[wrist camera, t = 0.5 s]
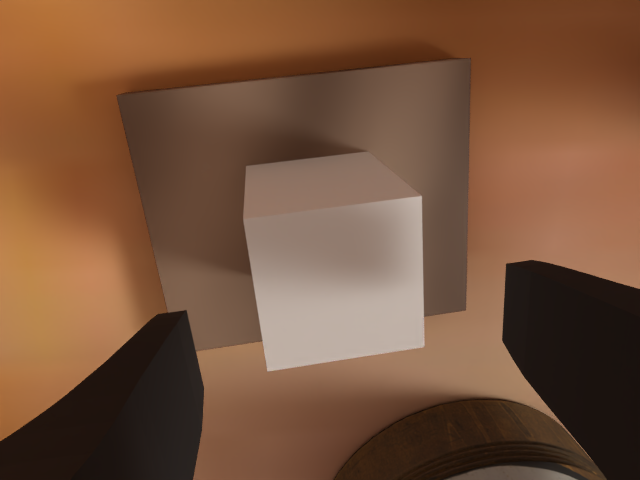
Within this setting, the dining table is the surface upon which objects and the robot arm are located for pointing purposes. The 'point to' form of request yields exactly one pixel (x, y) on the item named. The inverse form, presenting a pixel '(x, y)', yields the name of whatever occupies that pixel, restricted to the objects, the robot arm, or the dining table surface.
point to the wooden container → (472, 447)
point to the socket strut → (334, 259)
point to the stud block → (286, 145)
